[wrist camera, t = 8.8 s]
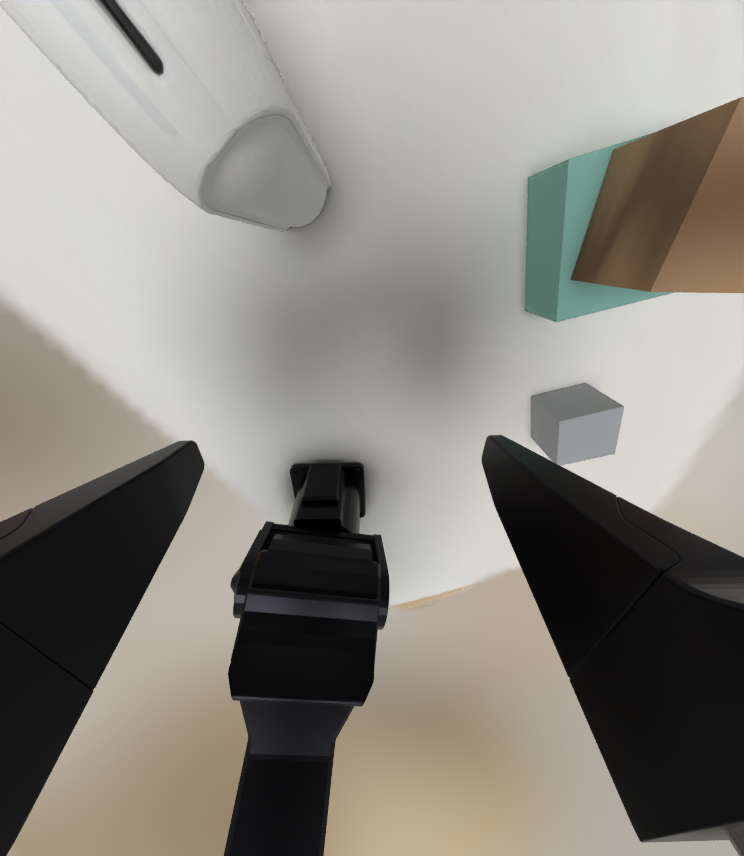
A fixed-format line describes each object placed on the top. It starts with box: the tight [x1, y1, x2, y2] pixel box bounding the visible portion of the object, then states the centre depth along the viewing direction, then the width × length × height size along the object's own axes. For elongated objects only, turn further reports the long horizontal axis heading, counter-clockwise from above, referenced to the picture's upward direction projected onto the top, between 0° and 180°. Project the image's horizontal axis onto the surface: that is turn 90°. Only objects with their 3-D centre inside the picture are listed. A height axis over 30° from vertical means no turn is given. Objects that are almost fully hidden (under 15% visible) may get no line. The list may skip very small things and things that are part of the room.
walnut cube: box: [570, 97, 744, 293], centre depth 12 cm, size 5×5×5 cm
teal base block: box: [525, 133, 674, 322], centre depth 16 cm, size 7×7×4 cm
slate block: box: [531, 383, 624, 466], centre depth 22 cm, size 4×4×4 cm
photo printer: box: [0, 0, 331, 231], centre depth 9 cm, size 10×4×12 cm, turn 36°
